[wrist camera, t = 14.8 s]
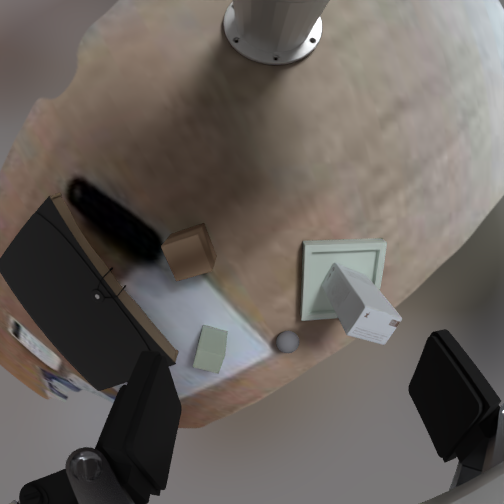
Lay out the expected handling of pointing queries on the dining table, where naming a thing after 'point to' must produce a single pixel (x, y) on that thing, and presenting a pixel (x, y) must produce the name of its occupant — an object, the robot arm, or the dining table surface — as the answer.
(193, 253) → the walnut cube
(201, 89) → the dining table surface
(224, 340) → the sage block
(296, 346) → the grey ball
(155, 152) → the dining table surface
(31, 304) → the file folder
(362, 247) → the tray
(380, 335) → the skincare box
